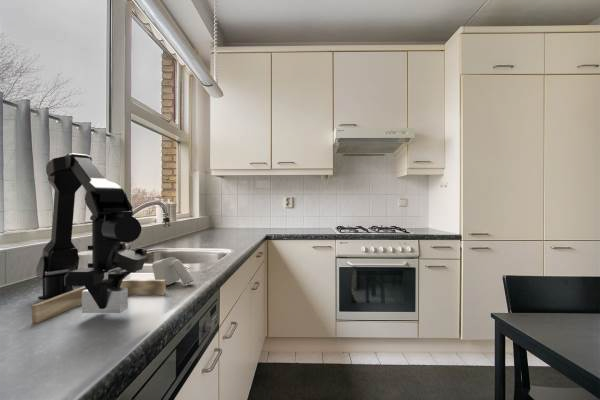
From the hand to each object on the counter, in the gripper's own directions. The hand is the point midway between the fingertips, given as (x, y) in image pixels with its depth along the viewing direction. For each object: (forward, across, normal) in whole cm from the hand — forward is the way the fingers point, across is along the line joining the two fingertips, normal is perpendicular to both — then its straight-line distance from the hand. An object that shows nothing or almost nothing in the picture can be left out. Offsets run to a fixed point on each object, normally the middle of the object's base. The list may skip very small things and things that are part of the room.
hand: (107, 306), depth 73 cm
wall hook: (+3, +29, -4) cm, 29 cm away
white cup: (+3, +33, +31) cm, 45 cm away
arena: (+3, +9, +6) cm, 11 cm away
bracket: (+1, +1, +1) cm, 2 cm away
